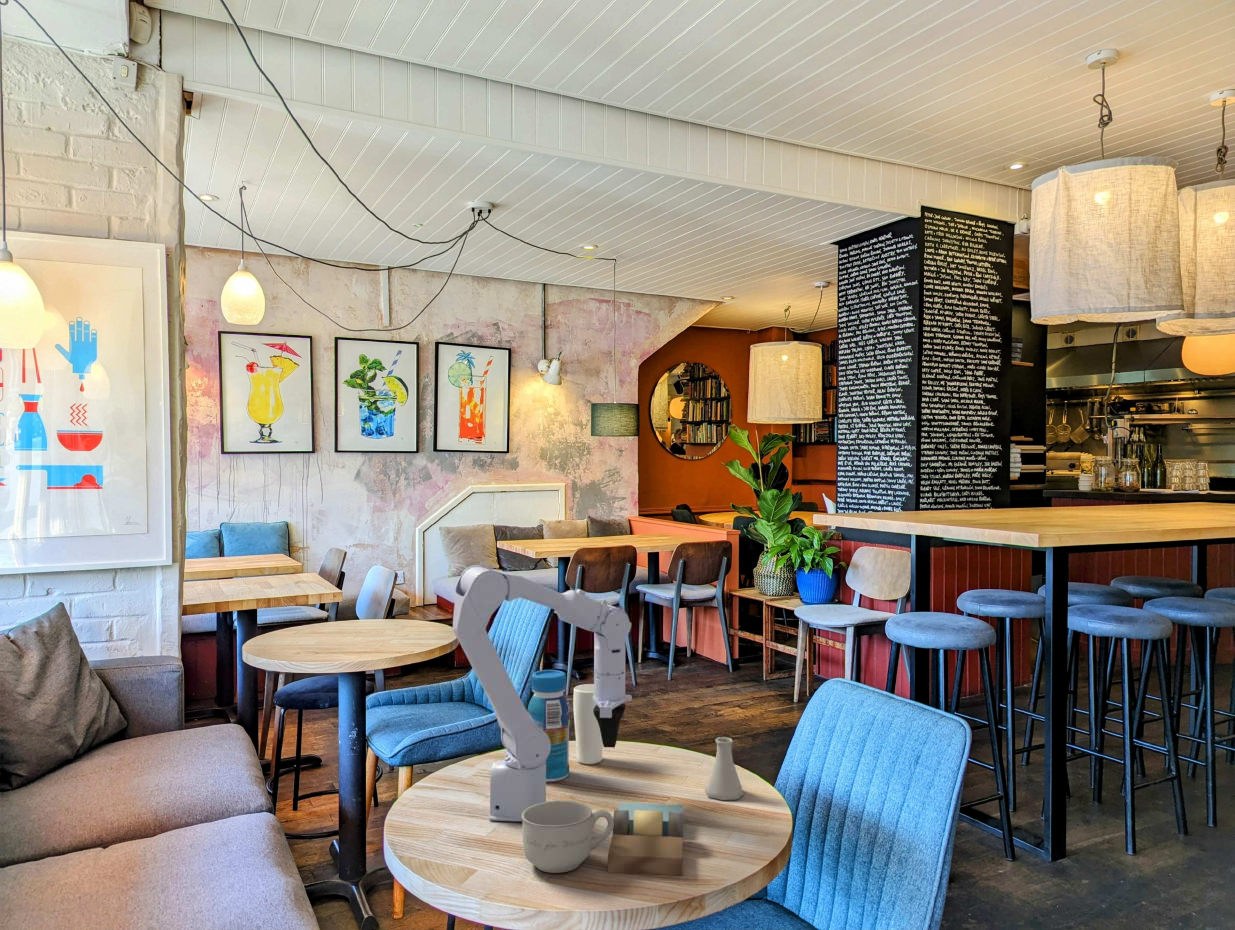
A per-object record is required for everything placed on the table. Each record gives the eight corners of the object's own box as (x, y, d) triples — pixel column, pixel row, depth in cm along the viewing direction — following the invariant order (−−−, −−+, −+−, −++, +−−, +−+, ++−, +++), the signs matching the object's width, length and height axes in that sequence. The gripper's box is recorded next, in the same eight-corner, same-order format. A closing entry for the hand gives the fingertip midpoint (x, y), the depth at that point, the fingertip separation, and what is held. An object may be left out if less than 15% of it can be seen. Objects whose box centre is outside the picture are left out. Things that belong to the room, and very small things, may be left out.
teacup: (515, 880, 118) (515, 825, 118) (527, 846, 129) (527, 795, 129) (611, 883, 118) (611, 827, 118) (615, 848, 128) (615, 797, 128)
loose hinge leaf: (612, 848, 128) (612, 816, 128) (619, 817, 140) (619, 788, 141) (682, 851, 127) (682, 819, 127) (683, 819, 139) (683, 790, 140)
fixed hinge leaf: (608, 872, 121) (608, 838, 121) (615, 835, 133) (615, 804, 133) (682, 875, 120) (682, 841, 120) (682, 838, 132) (683, 807, 132)
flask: (742, 803, 146) (742, 747, 147) (702, 799, 148) (702, 744, 148) (745, 788, 154) (744, 735, 154) (706, 785, 155) (706, 732, 155)
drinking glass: (612, 759, 169) (612, 686, 169) (593, 768, 163) (594, 693, 164) (585, 753, 173) (585, 682, 173) (566, 762, 167) (566, 689, 167)
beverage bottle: (519, 780, 157) (519, 676, 157) (538, 765, 165) (538, 666, 165) (559, 786, 154) (559, 680, 155) (576, 771, 162) (577, 670, 162)
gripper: (628, 682, 141) (628, 760, 141) (634, 663, 156) (634, 734, 156) (588, 681, 142) (588, 759, 142) (597, 662, 156) (597, 733, 156)
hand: (609, 746), depth 149 cm, fingers closed
